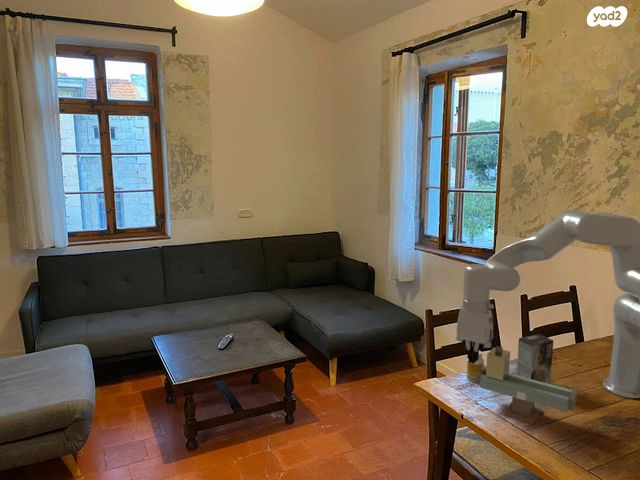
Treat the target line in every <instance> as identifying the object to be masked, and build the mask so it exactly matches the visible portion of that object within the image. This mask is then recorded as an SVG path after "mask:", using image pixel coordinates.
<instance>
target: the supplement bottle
mask: <svg viewBox="0 0 640 480" xmlns="http://www.w3.org/2000/svg"><path fill="white" fill-rule="evenodd" d="M466 358H467V357H466ZM468 360H469V359H468V358H467V359H466V379H467V380H468V381H470V382H473V383H476V374H477V373H478V372H479V371H480V369H481V368H482V367H483V366H485V365H484V364H485V359H484V358H483V352H482V351H481V350H479V358H478V361H476V362H475V363H474V364H473V363H469V362H468Z"/></svg>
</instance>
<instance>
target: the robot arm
mask: <svg viewBox="0 0 640 480" xmlns="http://www.w3.org/2000/svg"><path fill="white" fill-rule="evenodd" d="M575 241H577V242H581V243H585V244H590V245H597V246H608V248H609V250H610V253H611V258H612V266H613V267H612V268H613V274H614V282H615V284H616V287H617V288H618V289H619V290H620V291H623V292H624V294H621V295H620V296H618V297H617V298H616V300H615V302H614V303H613V309H612V311H613V323H614V330H613V331H614V333H613V343H612V351H611V361H610V368H609V377H607V378H604V379H603V381H602V382H603V383H602V385H603V387H604V389H605V390H607V391H609V392H610V393H612V394H614V395H617V396H620V397H622V398H626V399H627V398H628V399H634V398H640V222H639V221H638V220H637V219H635V218H633V217H629V216H624V215H620V214H616V213H611V212H605V211H602V212H601V211H600V212H595V213H591V212H586V211H581V210H577V209H576V210H575V209H571V210H570V209H569V210H566V211H564V212H563V213H560V214H559V215H558V216H557V217H555V218H554V219H553V220H552V221H550V222H549V223H547V224H545V226H543V227H542V228H540V229H539V230H537V232H535V233H534V234H532V235H531V236H529V237H527V238H524V239H521V240H519V241H517V242H514V243H512V244H509V245H507V246H505V247H503V248H501V249H500V250H499V251H497V252H496V253H494V254H493V255H492V256H491V257H489V258H488V259H487V260H485V262H484V263H483V264H480V263H479V264H478V263H476V264H475V263H472V264H467V265H466V266H465V267H464V271H463V273H464V274H463V275H464V276H463V291H462V293H463V294H462V306H461V307H460V308H459V313H458V318H457V324H456V338H455V340H456V341H458V342H460V343H462V344H463V345H464V346H465V349H466V350H467V353H466V355H467V357H466V358H468V359H469V360H468V362H469V363H473V364H474V363H475V362H476V361H478V358H479V351H481V349H483V348H484V349H485V348H486V349H487V348H488V349H489V348H492V346H493V344H492V340H493V337H494V325H493V324H494V322H493V321H494V320H493V313H492V310H493V309H494V308H495V307H494V304H493V303H491V301H490V291H499V292H511V291H513V290H515V289H517V288H518V287H519V285H520V284H521V283H520V282H521V276H520V274H519V271H517V270H516V269H515V268H516V267H518V266H520V265H524V264H526V263H531V262H532V263H533V262H541V261H546V260H550V259H552V258H553V257H555V256H556V255H558V254H559V253H561V252H562V250H564V249H566V248H567V247H568V246H569V245H571V244H572V243H573V242H575ZM491 309H492V310H491Z"/></svg>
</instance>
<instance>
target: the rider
mask: <svg viewBox="0 0 640 480" xmlns="http://www.w3.org/2000/svg"><path fill="white" fill-rule="evenodd" d="M510 361H511V351H510V350H505V349H503V346H499V345H498V346H495V347H492V348H491V349H490V351H488V352H487V353H486V365H485V366H486V376H488V377H491V378H495V379H499V380H502V381H503V380H505V377H506V376H507V375H508V373H509V374H510V363H511V362H510Z"/></svg>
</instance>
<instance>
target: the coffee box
mask: <svg viewBox="0 0 640 480" xmlns="http://www.w3.org/2000/svg"><path fill="white" fill-rule="evenodd" d="M517 346H518V347H517V359H516V360H517V361H516V362H517V363H516V373H515V375H516V376H520V377H524V378H528V379H532V380H536V381H540V382H543V383H547V384H551V378H552V377H551V376H552V365H553V353H554V351H553V349H554V339H551V338H549V337H547V336H545V335H542V334H539V333H536V334H533V335H528V336H523V337H519V338H518V345H517Z"/></svg>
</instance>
